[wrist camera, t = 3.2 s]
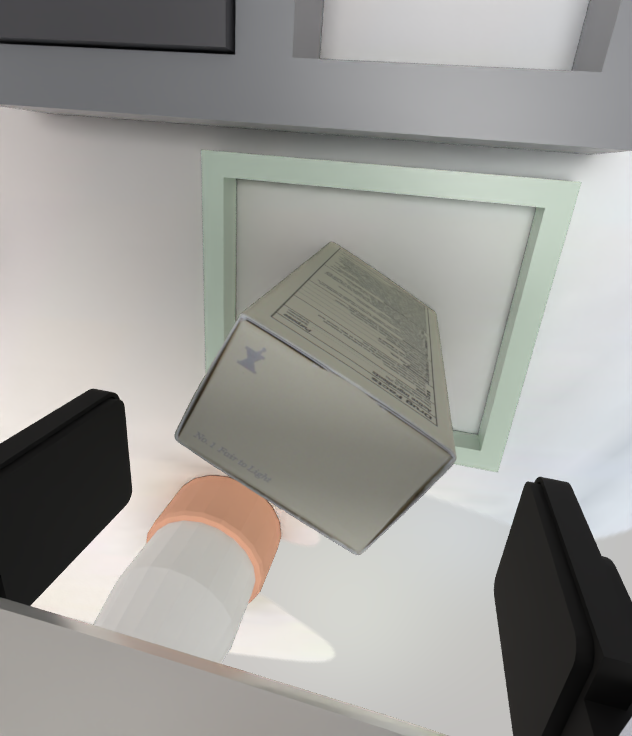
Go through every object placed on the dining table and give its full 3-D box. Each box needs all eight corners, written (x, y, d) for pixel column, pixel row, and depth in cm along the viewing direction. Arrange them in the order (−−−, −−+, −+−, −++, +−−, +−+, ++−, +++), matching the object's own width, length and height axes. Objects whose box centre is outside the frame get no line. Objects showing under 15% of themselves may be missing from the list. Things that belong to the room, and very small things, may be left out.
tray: (215, 150, 21) (201, 149, 20) (570, 181, 18) (581, 182, 17) (217, 404, 26) (206, 416, 25) (493, 455, 24) (497, 472, 22)
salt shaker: (153, 514, 31) (-196, 950, 14) (214, 453, 28) (-137, 918, 10) (236, 583, 32) (5, 1077, 14) (304, 531, 28) (114, 1082, 11)
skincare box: (286, 311, 23) (159, 437, 12) (333, 234, 21) (232, 303, 10) (390, 382, 23) (355, 566, 13) (446, 312, 22) (463, 459, 11)
